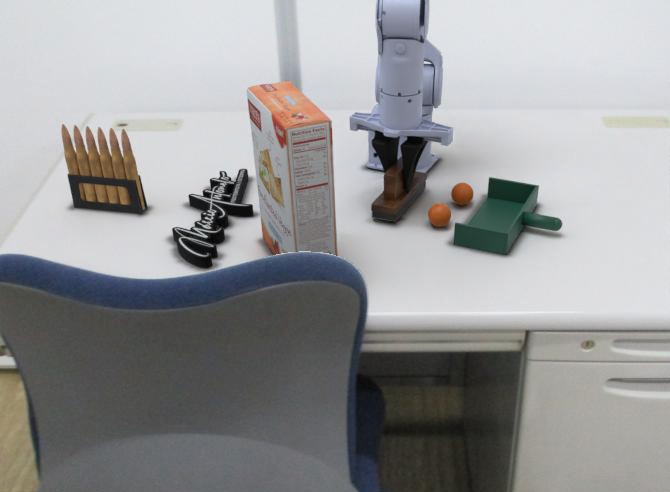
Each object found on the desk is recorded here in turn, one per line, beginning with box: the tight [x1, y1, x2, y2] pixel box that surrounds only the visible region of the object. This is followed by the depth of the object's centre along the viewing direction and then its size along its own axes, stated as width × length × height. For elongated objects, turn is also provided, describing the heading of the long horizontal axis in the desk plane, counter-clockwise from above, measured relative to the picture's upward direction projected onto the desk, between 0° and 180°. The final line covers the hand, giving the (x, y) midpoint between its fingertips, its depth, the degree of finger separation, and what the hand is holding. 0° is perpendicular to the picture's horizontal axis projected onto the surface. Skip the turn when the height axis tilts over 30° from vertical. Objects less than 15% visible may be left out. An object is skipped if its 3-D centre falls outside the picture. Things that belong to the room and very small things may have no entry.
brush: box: [370, 156, 428, 223], centre depth 119 cm, size 4×13×6 cm, turn 157°
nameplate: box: [171, 168, 254, 269], centre depth 117 cm, size 28×2×10 cm
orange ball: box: [450, 182, 474, 206], centre depth 121 cm, size 3×3×3 cm
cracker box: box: [246, 80, 338, 256], centre depth 102 cm, size 14×6×21 cm, turn 24°
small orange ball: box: [427, 202, 452, 228], centre depth 116 cm, size 3×3×3 cm
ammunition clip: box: [60, 123, 149, 215], centre depth 117 cm, size 11×2×12 cm, turn 79°
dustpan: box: [453, 176, 563, 255], centre depth 115 cm, size 13×16×3 cm
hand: (399, 185), depth 119 cm, fingers closed on brush, 2 cm apart
